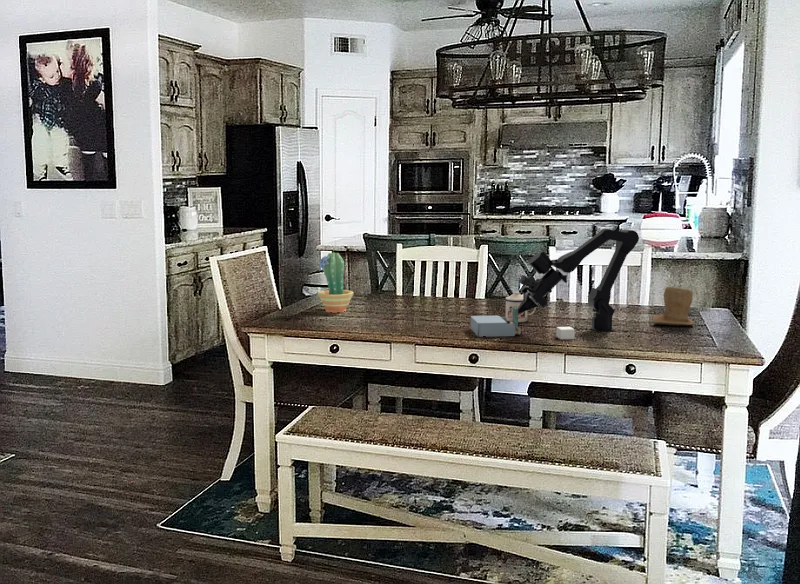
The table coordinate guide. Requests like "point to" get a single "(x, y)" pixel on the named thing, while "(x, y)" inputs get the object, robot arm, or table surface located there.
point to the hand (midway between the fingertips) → (517, 312)
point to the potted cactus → (334, 284)
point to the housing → (491, 326)
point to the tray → (515, 320)
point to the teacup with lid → (515, 302)
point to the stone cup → (675, 307)
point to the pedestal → (565, 333)
